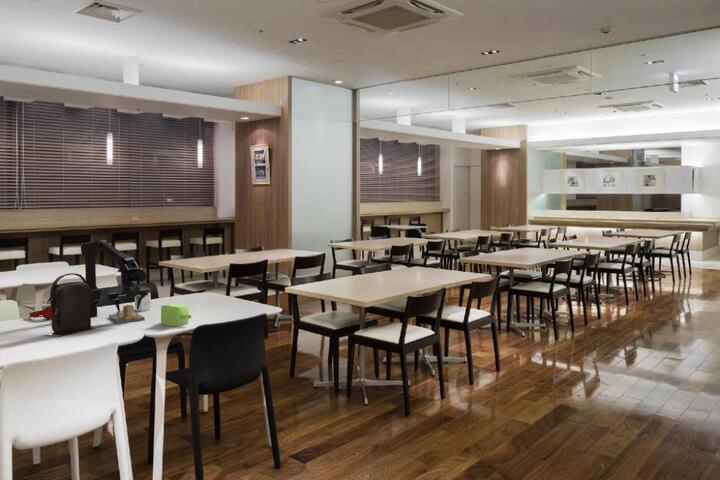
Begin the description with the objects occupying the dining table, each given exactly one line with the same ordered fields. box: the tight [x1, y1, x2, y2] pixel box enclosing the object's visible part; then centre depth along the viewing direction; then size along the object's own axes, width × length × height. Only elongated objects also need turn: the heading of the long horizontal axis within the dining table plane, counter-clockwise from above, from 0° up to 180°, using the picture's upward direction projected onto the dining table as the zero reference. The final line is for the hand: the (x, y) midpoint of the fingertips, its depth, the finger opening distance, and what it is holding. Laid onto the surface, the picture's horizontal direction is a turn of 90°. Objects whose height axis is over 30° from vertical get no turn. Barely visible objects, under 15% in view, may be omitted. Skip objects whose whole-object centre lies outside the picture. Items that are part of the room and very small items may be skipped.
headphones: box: [28, 305, 51, 321], centre depth 307 cm, size 15×7×20 cm
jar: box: [134, 287, 152, 312], centre depth 324 cm, size 9×8×12 cm
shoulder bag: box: [46, 272, 101, 338], centre depth 274 cm, size 23×9×28 cm, turn 148°
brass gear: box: [119, 304, 139, 319], centre depth 297 cm, size 9×9×6 cm
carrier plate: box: [108, 309, 146, 325], centre depth 300 cm, size 13×18×6 cm
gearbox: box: [160, 303, 192, 327], centre depth 288 cm, size 18×10×10 cm, turn 59°
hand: (128, 310), depth 297 cm, fingers open, 9 cm apart
